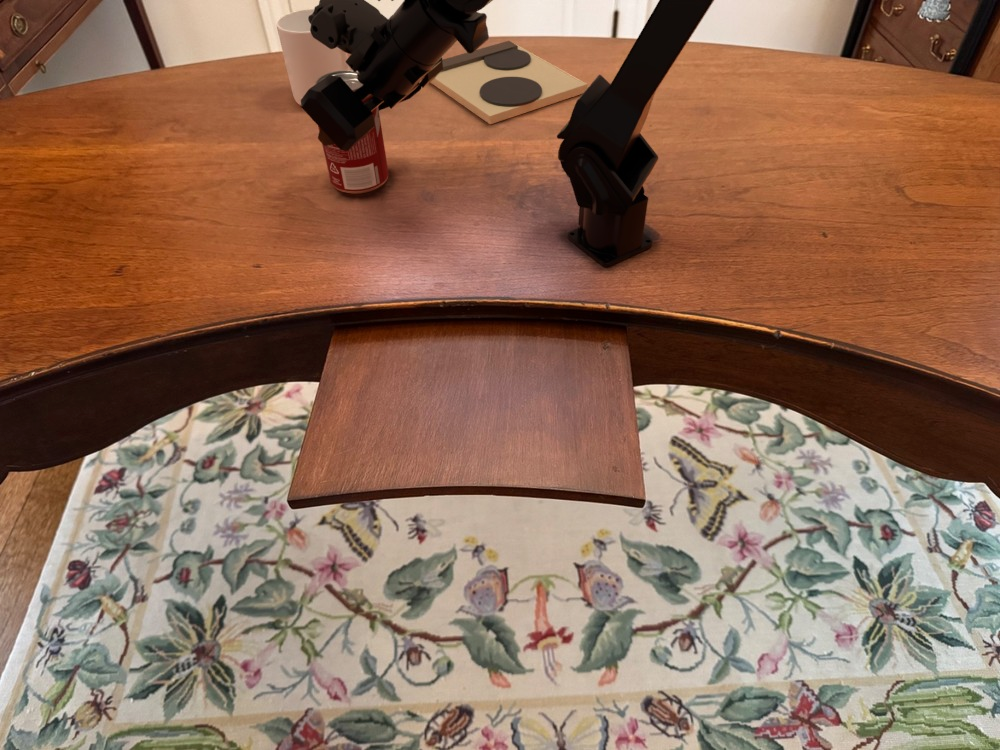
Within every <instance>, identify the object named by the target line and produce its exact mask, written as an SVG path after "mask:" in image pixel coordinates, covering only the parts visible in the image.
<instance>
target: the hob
mask: <svg viewBox="0 0 1000 750" xmlns="http://www.w3.org/2000/svg"><path fill="white" fill-rule="evenodd" d="M442 62H443V70H442V71H441V72H440V73H439V74H438V75H437V76H436V77H435V79H433V80H432V81H431V82H430V83H429V84H431V85H433V86H435V88H438V89H439V90H440V91H441V92H443V93H444V94H446V95H448V96H449V97H450V98H451V99H453V100H454V101H456V102H457V103H458V104H460V105H462V106H463V107H464V108H466V109H467V110H468V111H470V112H472V113H473V114H474V115H476V116H477V117H478V118H480V119H482V120H483V121H484V122H486V123H487V124H488V125H493V124H496V123H498V122H503V121H505V120H508V119H511V118H514V117H517V116H520V115H523V114H525V113H526V114H527V113H529V112H531V111H535V110H538V109H541V108H544V107H546V106H549V105H553V104H556V103H559V102H562V101H564V100H567V99H570V98H574V97H577V96H581V95H582V94H583V93H584V92H585V91H586V89H587V88H588V83H587V82H585V81H583V80H581V79H579V78H577V77H575V76H574V75H572V74H570V73H568V72H567V71H565V70H563V69H561V68H559V67H558V66H556V65H555V64H553V63H551V62H549V61H547V60H545V59H544V58H541V57H540V56H538V55H536V54H534V53H533V52H531V51H529V50H527V49H526V48H524V47H522V46H520V45H518V44H517V43H515V42H512V41H510V40H506V41H502V42H499V43H495V44H491V45H488V46H485V47H481V48H478V49H477V50H475V51H474V52H473V53H471V54H469V53H468V52H467V51H466V52H464V53H461V54H457V55H454V56H451V57H446V58H442ZM422 79H424V77H423V78H422Z"/></svg>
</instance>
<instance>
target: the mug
mask: <svg viewBox="0 0 1000 750" xmlns="http://www.w3.org/2000/svg"><path fill="white" fill-rule="evenodd" d="M314 9H315V8H305V9H300V10H299V9H298V10H295V11H291V12H288V13H286V14H284V15H282V16H280V17H279V18H278V19H277V20H276V23H275V26H276V30H277V34H278V39H279V42H280V47H281V51H282V55H283V60H284V64H285V68H286V72H287V76H288V80H289V84H290V89H291V93H292V96H293V99H294V101H295V102H296V104H298V105H299V107H301V99H302V98H303V96H304V95H305V94H306V92H307V91H308V90H309V89H310V88H311V87H313V86H314V85H315V83H316V81H317V79H318V78H320V77H321V76H323V75H325V74H327V73H330V72H334V71H341V70H351V68H350V67H349V65H348V64H347V63H346V60H347V59H348V58H349V54H348V53H346V52H344V51H342V50H341V49H339V48H338V47H336V48H334V49H330V48H328V47H327V46H325V45H324V44H322V43H321V42H319V41H318V40H316V39H315V38H313V36H312V34H311V32H310V28H311V24H310V22H309V20H308V17H309V16H310V15H311V14H313V12H314Z"/></svg>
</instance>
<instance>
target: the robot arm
mask: <svg viewBox="0 0 1000 750" xmlns="http://www.w3.org/2000/svg"><path fill="white" fill-rule="evenodd" d="M380 1H381V0H377V2H380ZM390 1H391V2H394V0H390ZM493 1H494V0H403V1H402V3H401V4H399V6H398V8H397V9H396V10H395V11H394V12H393V14H392V15H391V16H389V17H386V16H385V15H384V14H382V13H381V11H380V10H379V9H378V8H377V7H375V6H374V5H373V4H371V3H370V2H368V1H366V0H319V1H318V4H316V6H314V8H313V9H314V12H313V14H311V15H310V16H309V17H308V20H309V22H310V24H311V28H310V32H311V34H312V36H313V38H315V39H316V40H318V41H319V42H321V43H322V44H324V45H325V46H327V47H328V48H330V49H334V48H336V47H338V48H339V49H341V50H342V51H344V52H346V53H347V55H348V59H347V60H346V63H347V64H348V65H349V67H350V70H353V71H354V72H356V71H358V72H359V73H358V74H357V75H356V78H357V80H358V81H359V82H360V83H361V84H363V86H361V87H360V88H359V89H357V90H356V91H355V92H353V91H352V89H351V88H350V87H349V86H348V85H347V84H346V83H345V81H344V80H343V79H342V78H341V77H338V76H333V75H328V76H327V77H326V78H324V79H323V80H321V81H320V82H318V83H317V84H315V85H314V86H313V87H311V88H310V89H309V90H308V91H307V92H306V94H305V95H304V96H303V98H302V99H301V106H300V107H301V109H302V110H303V111H304V112H305V113H306V114H307V115H308V117H309V118H310V119H311V120H312V121H314V123H315V124H316V126H317V127H318V126H319V127H320V131H319V130H318V131H319V132H318V136H317V139H318V141H319V142H320V143H321V145H322V144H323V145H324V146H328V145H333V144H336V146H337V147H338V148H339V149H340V150H344V151H349V150H350V149H351V148H352V147H353V146H355V145H356V144H357V143H358V142H359V141H361V140H362V139H363V138H364V137H365V136H366V135H367V134H368V133H369V132H370V131H371V130H372V129H373V128H374V127H375V123H374V117H373V113H372V112H371V111H373V110H374V109H375V108H376V107H378V108H379V112H380V111H383V110H385V109H388V108H389V109H390V110H391V109H393V108H394V107H396V106H397V105H398V104H400V103H403V102H405V101H408V100H410V99H412V98H413V97H414V96H415V95H416V94H418V93H419V92H420V91H421V90H422V89H424V88H425V87H426V86H428V85H429V84H431V83H430V82H431V81H432V80H433V79H435V77H436V76H437V75H438V74H439V73H440V72H441V71H442V70H443V62H442V60H443V57H444V55H445V54H446V53H447V52H448V51H449V50H450V49H451V48H452V47H453V46H454V45H455V44H456V42H458V43H459V44H460V45H461V47H462V48H463V49H464V50H465V52H466V53H467V52H468V53H469V54H471V53H473V52H474V51H475V50H478V49H480V47H481V46H483V45H484V44H485V43H487V41H488V40H489V37H490V36H489V28H488V26H487V20H488V19H487V18H488V16H487V14H486V13H485V12H479V11H481V10H483V9H484V8H486V6H488V5H489V4H490V3H492V2H493ZM714 2H715V0H658V2H657V4H655V7H654V9H653V10H652V12H651V14H650V16H649V17H648V19H647V21H646V22H645V24H644V26H643V28H642V29H641V31H640V33H639V34H638V37H637V38H636V39H635V42H634V44H633V45H632V47H631V48H630V50H629V51H628V54H627V55H626V57H625V59H624V60H623V62H622V63H621V66H620V67H619V69H618V71H617V72H616V74H615V76H614V78H613V80H612V81H611V82H609V81H608V80H607V79H606V78H605V77H604V76H603V75H601V74H598V75H597V77H596V78H594V80H593V81H592V83H590V85H589V86H587V89H586V91H585V92H584V93H583V94H580V96H579V98H577V100H576V102H575V104H574V107H573V109H572V112H571V115H570V118H569V120H568V121H567V123H566V124H565V125H564V126H563V127H562V128H561V129H560V131H559V132H558V134H557V135H556V138H557V139H559V140H562V141H561V142H560V145H559V147H558V150H557V160H558V161H559V162H560V165H561V168H562V170H563V172H564V173H565V174H566V176H567V177H568V179H569V181H570V184H571V188H572V191H573V194H574V198H575V200H576V204H577V207H579V209H578V222H577V223H578V226H579V227H577V228H575V229H573V230H571V231H569V232H568V233H567V239H568V240H569V241H570V242H572V243H573V244H574V245H575V246H577V247H578V248H579V249H580V250H582V251H583V252H584V253H586V254H587V255H588V256H589V257H591V258H592V259H593V260H594V261H596V262H597V263H598V264H600V265H601V266H603V267H605V268H606V267H607V268H608V267H610V266H613V265H614V264H617V263H620V262H621V261H624V260H625V259H628V258H630V257H632V256H635V255H637V254H640V253H641V252H644V251H646V250H648V249H650V248H652V247H653V245H654V240H653V239H652V238H650V237H649V236H648V235H646V234H645V233H644V231H645V225H646V218H647V211H648V205H649V204H648V203H649V196H647V195H646V194H645V187H644V184H645V183H646V181H647V179H648V177H649V176H650V175H651V173H652V171H653V169H654V168H655V166H656V164H657V163H658V161H659V155H658V154H657V153H656V152H655V150H654V149H653V147H652V146H651V145H650V144H649V142H648V141H647V140H646V139H645V137H644V136H643V135H642V133H641V132H642V130H643V127H644V126H645V123H646V121H647V118H648V115H649V113H650V110H651V106H652V103H653V99H654V97H655V95H656V92H657V90H658V89H659V87H660V85H662V83H663V81H664V80H665V78H666V76H667V75H668V73H669V71H670V70H671V68H672V67H673V66H674V64H675V63H676V61H677V59H678V57H679V56H680V55H681V53H682V51H683V50H684V48H685V47H686V46H687V44H688V42H689V41H690V39H691V38H692V36H693V34H694V33H695V31H696V30H697V29H698V27H699V25H700V24H701V22H702V20H703V19H704V17H705V16H706V14H707V13H708V11H709V10H710V8H711V6H713V4H714ZM423 77H424V78H423ZM371 95H373V96H372V98H370V99H369V100H368V101H366V102H365V103H363V101H364V100H366V99H367V98H368V97H370V96H371Z"/></svg>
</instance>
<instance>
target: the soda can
mask: <svg viewBox="0 0 1000 750" xmlns="http://www.w3.org/2000/svg"><path fill="white" fill-rule="evenodd" d="M358 73H359V72H358V71H356V72H354V71H353V70H352V69H350V70H341V71H334V72H330V73H327V74H325V75H323V76H321V77H320V78H318V79H317V81H316V83H315V84H317V83H318V82H320V81H321V80H323V79H324V78H326V77H327V76H328V75H333V76H338V77H341V78H342V79H343V80H344V81H345V83H346V84H347V85H348V86H349V87H350V88H351V89H352V91H353V92H355V91H356V90H357V89H359V88H360V87H361V86H363V84H361V83H360V82H359V81H358V80H357V78H356V75H357V74H358ZM372 96H373V95H371V96H370V97H368V98H367V99H366V100H364V101H363V103H365V102H366V101H368V100H369V99H370V98H372ZM371 112H372V113H373V117H374V123H375V127H374V128H373V129H372V130H371V131H370V132H369V133H368V134H367V135H366V136H365V137H364V138H363V139H362V140H361V141H359V142H358V143H357V144H356V145H355V146H353V147H352V148H351V149H350V150H349V151H344V150H340V149H339V148H338V147H337V146H336V144H333V145H328V146H324V145H323V144H322V143H321V145H322V151H323V155H324V159H325V165H326V168H327V173H328V178H329V182H330V185H331V186H332V187H333V188H334V189H336V190H337V191H340V192H343V193H347V194H351V195H352V194H353V195H361V194H367V193H371V192H374V191H375V190H377V189H379V188H380V187H382V186H383V185H384V184H385V183H386V182H387V181H388V179H389V175H390V174H389V168H388V161H387V155H386V148H385V141H384V133H383V128H382V123H381V115H380V111H379V108H378V107H376V108H375V109H374V110H373V111H371ZM317 127H318V131H320V127H319V126H318V125H317Z"/></svg>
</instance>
